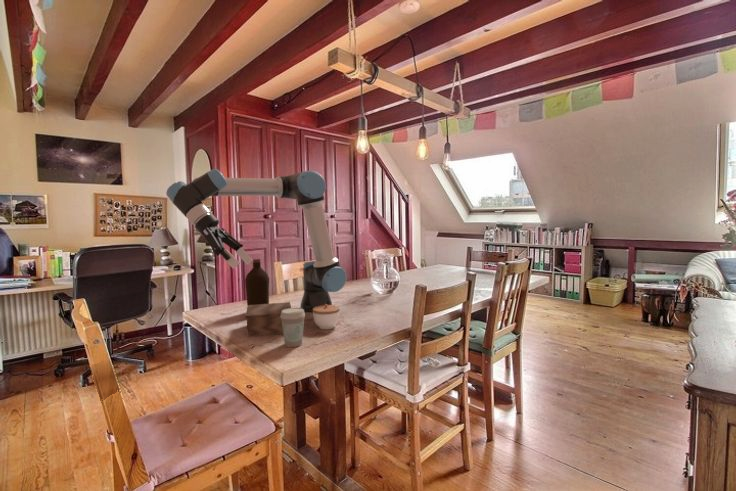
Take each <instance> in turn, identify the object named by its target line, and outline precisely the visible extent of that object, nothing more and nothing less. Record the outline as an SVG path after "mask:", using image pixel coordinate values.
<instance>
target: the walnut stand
mask: <svg viewBox="0 0 736 491" xmlns="http://www.w3.org/2000/svg"><path fill="white" fill-rule="evenodd" d="M288 308H292V306H291V302H290V301H289V302H288V301H287V302H277V303H276V302H275V303H269V304H258V305H248V307H247V309H246V313H245V315H244V316H245V317H244V318H245V319H246V326H247V327H246V328H247V329H246V332H247V337H248V338H249V337H259V336H269V335H270V336H271V335H279V334H280V335H281V334H283V327H282V320H281V318H280V316H281V312H282V310H284V309H288Z"/></svg>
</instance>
